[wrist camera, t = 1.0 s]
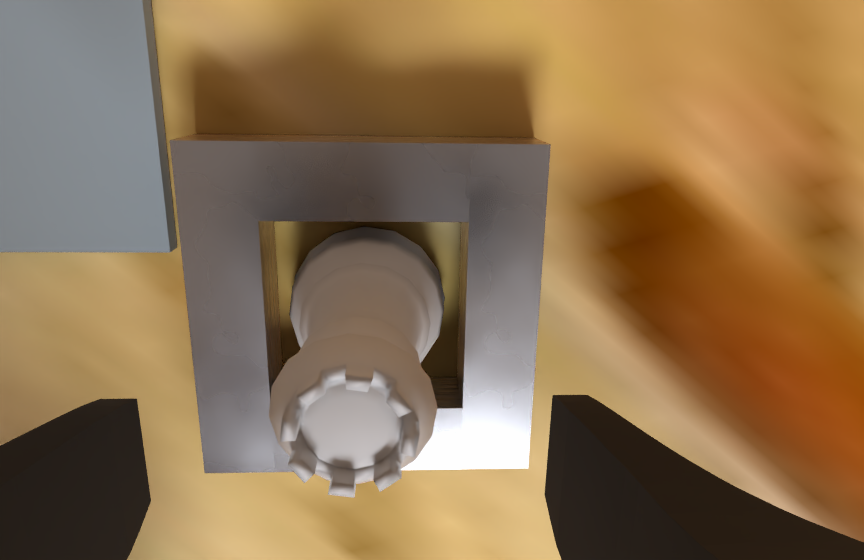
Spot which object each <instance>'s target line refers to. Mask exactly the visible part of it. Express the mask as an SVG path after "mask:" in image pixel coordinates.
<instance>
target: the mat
mask: <svg viewBox="0 0 864 560" xmlns="http://www.w3.org/2000/svg"><path fill="white" fill-rule="evenodd" d="M175 248H177V240H176V231H175V221H174V212H173V203H172V193H171V184H170V174H169V165H168V156H167V146H166V137H165V128H164V118H163V109H162V99H161V90H160V81H159V71H158V62H157V52H156V43H155V34H154V24H153V15H152V6H151V0H0V252H171V251H173V250H174V249H175Z"/></svg>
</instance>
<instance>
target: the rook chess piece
mask: <svg viewBox="0 0 864 560" xmlns="http://www.w3.org/2000/svg"><path fill="white" fill-rule="evenodd" d="M444 299H445V297H444V293H443V288H442V284H441V280H440V276H439V272H438V269H437V268H436V267H435V265H434V264H433V263H432V261H431V260H430V258H429V257H428V256H427V254H426V253H425V252H424V250H423V249H422V248H421V247H420V246H419V245H417V244H415V243H414V242H412V241H410V240H409V239H407V238H405V237H404V236H402V235H400V234H399V233H397V232H395V231H391V230H384V229H378V228H371V227H365V226H364V227H359V228H355V229H351V230H347V231H343V232H338V233H334V234H333V235H331V236H330V237H329V238H327V239H326V240H324V241H323V242H322V243H320V244H319V245H317V246H316V247H315V248H313V249H312V250H311V251H310V252H309V253H308V255H307V257H306V258H305V260H304V262H303V263H302V265H301V267H300V269H299V270H298V272H297V274H296V275H295V281H294V285H293V287H292V296H291V305H290V314H289V315H290V318H291V321H292V324H293V328H294V331H295V334H296V337H297V340H298V343H299V346H300V347H301V349H300V351H299V352H298V353H297V354H295V355H294V356H293V357H291V358H290V359H288V360H287V362H286V364H285V365H284V367H283V369H282V370H281V372H280V374H279V375H278V377H277V378H276V380H275V382H274V383H273V385H272V389H271V399H270V408H269V418H270V421H271V424H272V427H273V430H274V432H275V435H276V438H277V441H278V444H279V445H280V446H281V447H282V448H283V449H284V450H285V451H286V453H287V454H288V455H289V456H290V458H289V461H288V466H289V467H290V468H291V469H292V470H293V471H294V472H295V473H296V474H297V475H298V477H299V478H300V479H301V480H302V481H303V482H304V483H305V482H306V481H307V480H308V479H309V478H310V477H311V476H312V475H313V474H316V475H318V476H320V477H322V478H324V479H326V480H330V486H329V492H328V495H336V496H345V497H355V488H356V483H357V484H360V483H364V482H368V481H373V480H374V482H375V484H376V485H377V487H378V489H379V491H382V490H383V489H385V488H387V487H388V486H390V485H391V484H393V483H394V482H396V481H397V480H399V479H400V478H401V469H402V468H404V467H405V466H407V465H408V464H410V463H411V462H413V461H414V460H416V458H417V457H418V455H419V454H420V452H421V451H422V450H423V448H424V447H425V445H426V444H427V442H428V441H429V440H430V438H431V437H432V434H433V428H434V423H435V418H436V413H437V403H436V399H435V395H434V391H433V388H432V384H431V380H430V378H429V376H428V375H427V374H426V373H425V371H424V370H423V369H422V368H421V364H420V363H421V362H422V361H423V359H424V358H425V356H426V355H427V353H428V352H429V350H430V349H431V347H432V346H433V344H434V343H435V341H436V340H437V338H438V337H439V334H440V329H441V323H442V318H443V312H444Z"/></svg>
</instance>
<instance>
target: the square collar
mask: <svg viewBox="0 0 864 560" xmlns="http://www.w3.org/2000/svg"><path fill="white" fill-rule="evenodd" d="M170 146H171V156H172V165H173V175H174V184H175V194H176V204H177V213H178V223H179V232H180V242H181V251H182V261H183V270H184V280H185V290H186V299H187V309H188V318H189V328H190V337H191V347H192V356H193V366H194V375H195V385H196V395H197V404H198V414H199V423H200V433H201V442H202V452H203V461H204V471H205V473H246V472H294V471H293V470H292V469H291V468H290V467H289V466H288V461H289V458H290V456H289V455H288V454H287V453H286V451H285V450H284V449H283V448H282V447H281V446H280V445H279V444H278V441H277V438H276V435H275V432H274V430H273V427H272V424H271V421H270V418H269V408H270V399H271V389H272V385H273V383H274V382H275V380H276V378H277V377H278V375H279V374H280V372H281V370H282V369H283V367H282V350H281V333H280V316H279V300H278V283H277V266H276V249H275V232H274V221H336V222H461V246H460V280H459V314H458V348H457V377H429V378H430V380H431V384H432V388H433V391H434V395H435V399H436V403H437V413H436V418H435V423H434V428H433V434H432V437H431V438H430V440H429V441H428V442H427V444H426V445H425V447H424V448H423V450H422V451H421V452H420V454H419V455H418V457H417V458H416V460H414V461H413V462H411V463H410V464H408V465H407V466H405V467H404V468H402V469H401V470H440V469H505V468H528V462H529V447H530V433H531V419H532V404H533V390H534V375H535V361H536V346H537V332H538V318H539V303H540V289H541V274H542V260H543V245H544V231H545V217H546V202H547V188H548V173H549V159H550V144H548V143H546V142H543V141H541V140H538V139H536V138H504V137H418V136H332V135H246V134H193V135H189V136H185V137H181V138H177V139H173V140H170Z"/></svg>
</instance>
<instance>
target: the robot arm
mask: <svg viewBox="0 0 864 560" xmlns="http://www.w3.org/2000/svg"><path fill="white" fill-rule="evenodd" d="M545 498H546V502H547V507H548V511H549V516H550V520H551V525H552V529H553V533H554V537H555V541H556V545H557V548H558V551H559V554H560V556H561V559H562V560H864V542H861V541H858V540H855V539H853V538H850V537H848V536H845V535H843V534H840V533H838V532H835V531H833V530H830V529H828V528H825V527H823V526H820V525H817V524H815V523H812V522H810V521H807V520H805V519H803V518H800V517H798V516H796V515H794V514H791V513H789V512H787V511H784V510H782V509H780V508H778V507H776V506H774V505H772V504H770V503H768V502H766V501H763V500H761V499H759V498H757V497H755V496H753V495H751V494H749V493H747V492H745V491H743V490H741V489H739V488H737V487H735V486H733V485H731V484H729V483H727V482H726V481H724V480H722V479H720V478H718V477H716V476H715V475H713V474H711V473H710V472H708V471H706V470H704V469H703V468H701V467H699V466H698V465H696V464H694V463H692V462H691V461H689V460H687V459H686V458H684V457H682V456H681V455H679V454H678V453H676V452H674V451H673V450H671V449H670V448H668V447H666V446H665V445H663V444H662V443H660V442H659V441H657V440H656V439H654V438H653V437H651V436H649V435H648V434H646V433H645V432H643V431H642V430H641V429H639V428H638V427H636V426H635V425H633V424H632V423H630V422H629V421H627V420H626V419H624V418H623V417H621V416H620V415H618V414H617V413H615V412H614V411H612V410H611V409H609V408H608V407H606V406H605V405H603V404H602V403H600V402H599V401H597V400H595V399H594V398H592V397H590V396H588V395H553V398H552V411H551V423H550V435H549V448H548V460H547V473H546V485H545ZM150 502H151V498H150V491H149V484H148V477H147V469H146V462H145V455H144V447H143V440H142V433H141V426H140V418H139V411H138V404H137V399H99V400H97V401H94V402H91V403H88V404H86V405H83V406H81V407H79V408H77V409H74V410H72V411H70V412H68V413H66V414H64V415H62V416H60V417H57V418H55V419H53V420H51V421H49V422H47V423H45V424H43V425H41V426H39V427H37V428H35V429H33V430H31V431H29V432H27V433H25V434H23V435H21V436H19V437H17V438H15V439H13V440H11V441H9V442H7V443H5V444H3V445H1V446H0V560H127V558H128V556H129V555H130V552H131V550H132V547H133V545H134V543H135V540H136V538H137V536H138V533H139V531H140V528H141V526H142V523H143V520H144V518H145V515H146V512H147V510H148V507H149V504H150Z"/></svg>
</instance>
